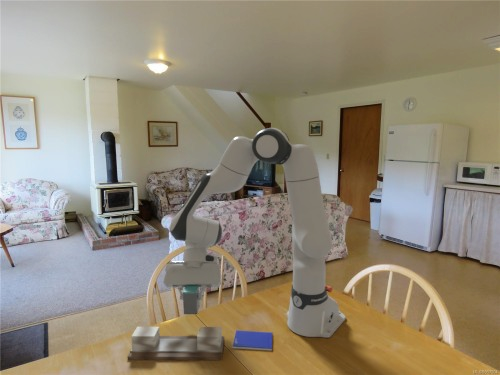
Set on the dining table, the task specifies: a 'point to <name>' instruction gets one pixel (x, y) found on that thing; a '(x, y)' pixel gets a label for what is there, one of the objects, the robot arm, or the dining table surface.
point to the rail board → (176, 345)
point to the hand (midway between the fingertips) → (191, 299)
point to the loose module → (191, 299)
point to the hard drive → (253, 340)
